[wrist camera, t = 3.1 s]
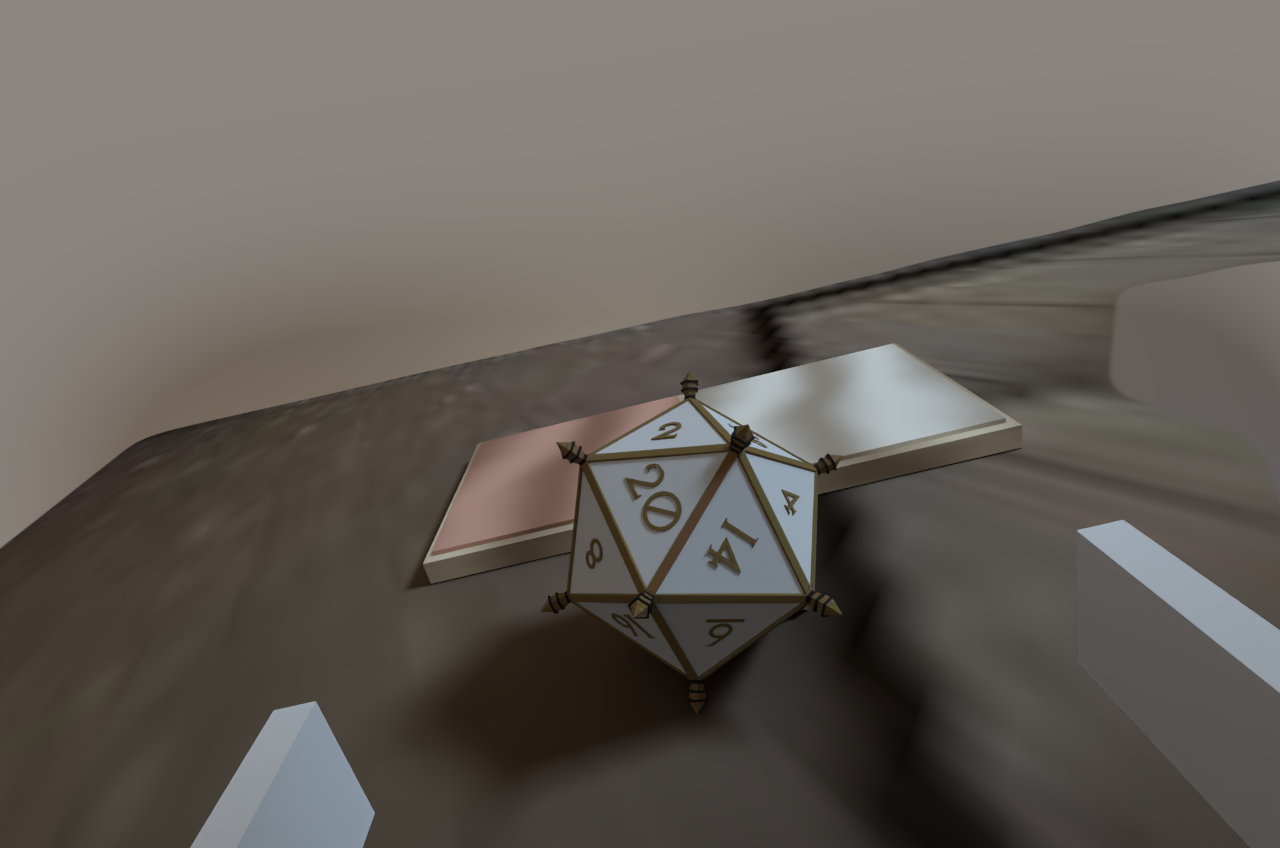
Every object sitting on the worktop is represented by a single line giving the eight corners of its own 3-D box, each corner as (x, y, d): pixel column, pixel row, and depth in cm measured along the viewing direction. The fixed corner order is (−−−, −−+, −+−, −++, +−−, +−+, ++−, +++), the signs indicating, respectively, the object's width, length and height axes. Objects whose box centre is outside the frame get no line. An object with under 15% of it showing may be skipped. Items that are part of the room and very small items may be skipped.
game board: (897, 359, 40) (895, 339, 40) (1022, 447, 28) (1021, 420, 28) (483, 458, 41) (477, 440, 41) (430, 583, 29) (421, 560, 29)
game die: (800, 737, 22) (978, 595, 15) (532, 752, 20) (582, 597, 13) (743, 503, 28) (851, 315, 20) (530, 497, 26) (564, 287, 18)
